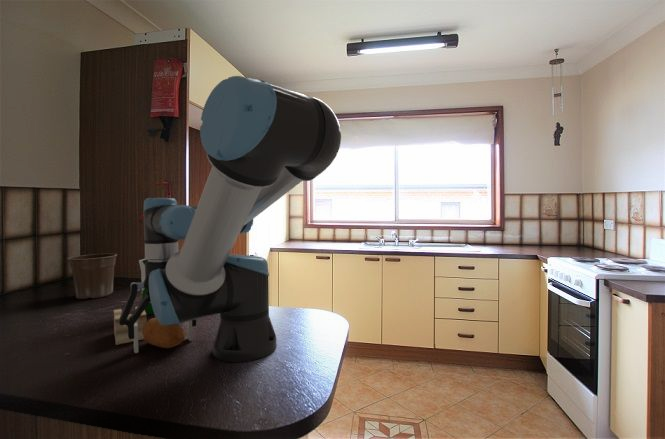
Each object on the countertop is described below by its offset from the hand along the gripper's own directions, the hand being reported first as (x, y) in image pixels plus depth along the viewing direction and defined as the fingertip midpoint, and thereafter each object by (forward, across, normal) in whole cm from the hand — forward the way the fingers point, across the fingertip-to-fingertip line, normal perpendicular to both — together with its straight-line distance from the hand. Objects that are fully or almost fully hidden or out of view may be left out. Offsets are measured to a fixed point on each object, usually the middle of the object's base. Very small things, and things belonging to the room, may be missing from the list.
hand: (164, 344), depth 84 cm
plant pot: (+1, +15, -72) cm, 73 cm away
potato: (0, 0, 0) cm, 0 cm away
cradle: (0, +6, -13) cm, 14 cm away
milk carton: (0, -3, -33) cm, 33 cm away
